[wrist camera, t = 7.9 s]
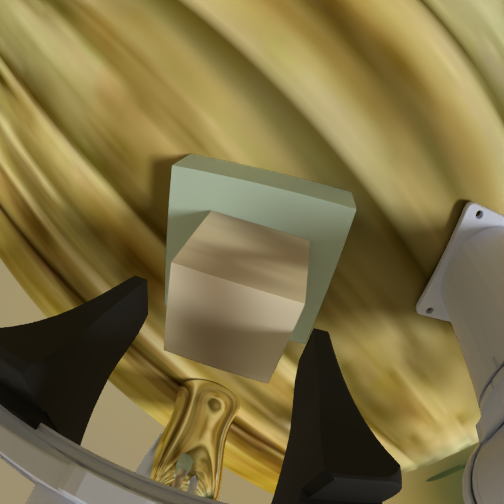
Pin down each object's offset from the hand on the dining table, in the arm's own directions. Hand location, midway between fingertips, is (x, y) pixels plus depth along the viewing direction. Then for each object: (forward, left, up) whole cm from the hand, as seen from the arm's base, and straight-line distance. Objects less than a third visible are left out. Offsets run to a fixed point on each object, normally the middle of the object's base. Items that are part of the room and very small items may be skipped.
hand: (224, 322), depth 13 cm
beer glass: (+1, +18, -7) cm, 19 cm away
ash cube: (0, 0, -5) cm, 5 cm away
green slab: (0, 0, -8) cm, 8 cm away
